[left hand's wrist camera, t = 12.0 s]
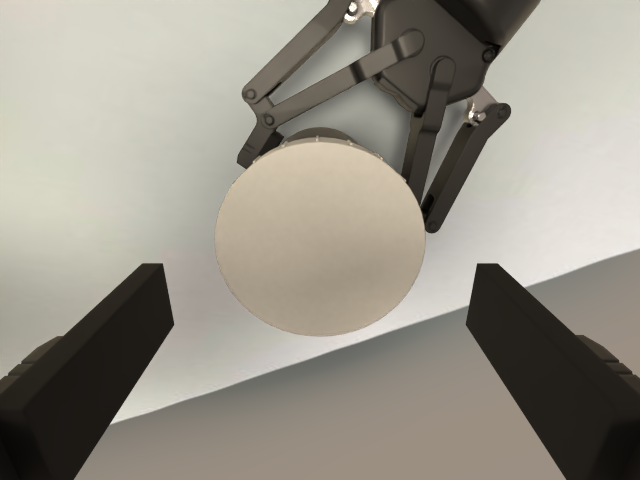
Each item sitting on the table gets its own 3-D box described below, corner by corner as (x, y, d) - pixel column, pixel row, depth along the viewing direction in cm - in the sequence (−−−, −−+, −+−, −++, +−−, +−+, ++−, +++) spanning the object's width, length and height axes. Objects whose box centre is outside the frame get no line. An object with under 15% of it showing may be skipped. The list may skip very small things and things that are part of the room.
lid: (244, 108, 17) (234, 110, 15) (446, 168, 18) (462, 176, 16) (210, 291, 21) (198, 312, 19) (378, 330, 22) (384, 355, 20)
